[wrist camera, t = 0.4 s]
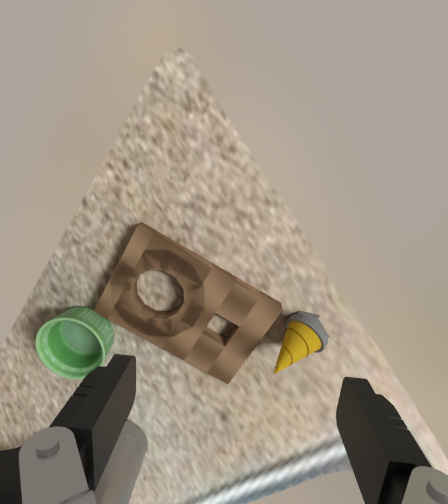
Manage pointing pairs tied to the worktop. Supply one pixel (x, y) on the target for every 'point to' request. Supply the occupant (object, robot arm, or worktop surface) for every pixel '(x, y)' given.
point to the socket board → (188, 305)
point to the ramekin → (74, 342)
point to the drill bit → (301, 339)
